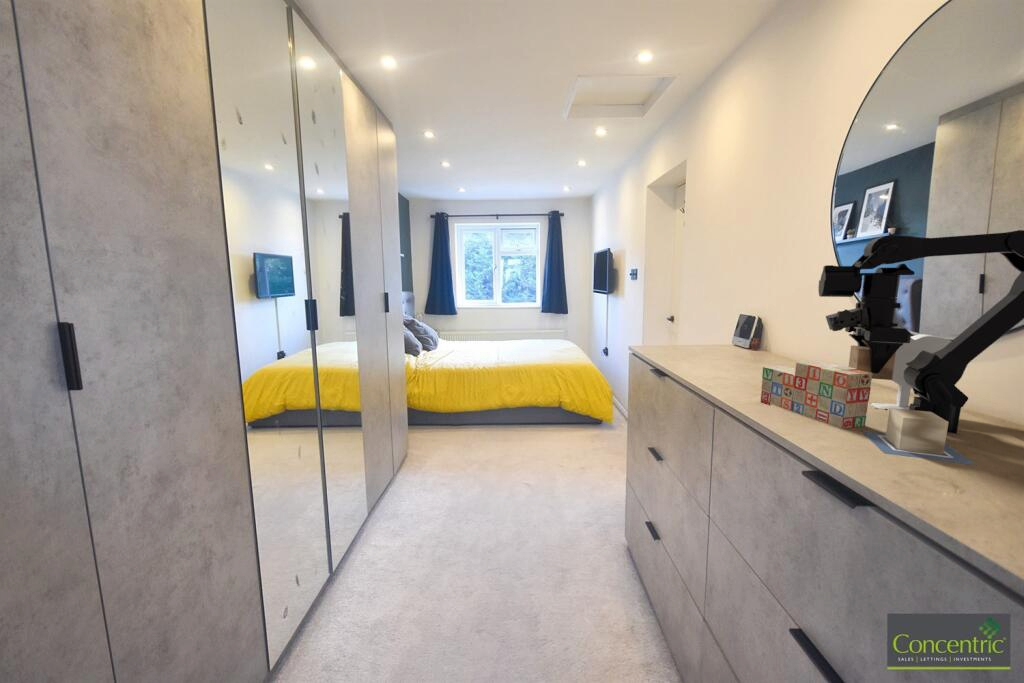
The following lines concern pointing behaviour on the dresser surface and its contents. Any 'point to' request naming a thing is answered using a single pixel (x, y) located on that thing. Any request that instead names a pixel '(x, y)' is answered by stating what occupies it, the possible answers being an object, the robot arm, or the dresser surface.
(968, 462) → the board
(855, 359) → the walnut block
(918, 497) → the dresser surface
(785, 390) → the stack of blocks
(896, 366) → the heart sculpture
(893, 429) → the beech block
